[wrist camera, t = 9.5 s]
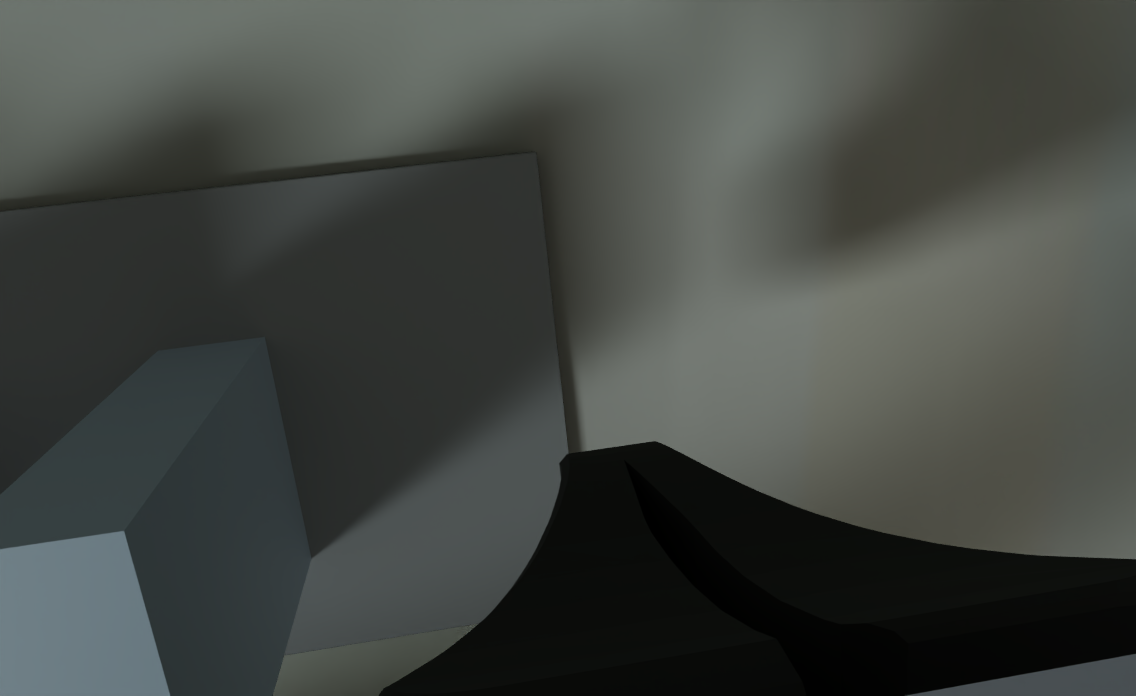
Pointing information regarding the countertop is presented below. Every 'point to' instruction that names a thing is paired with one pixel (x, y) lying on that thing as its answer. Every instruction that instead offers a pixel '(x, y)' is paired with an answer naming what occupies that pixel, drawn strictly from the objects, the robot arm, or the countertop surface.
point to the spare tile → (158, 539)
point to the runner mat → (326, 363)
